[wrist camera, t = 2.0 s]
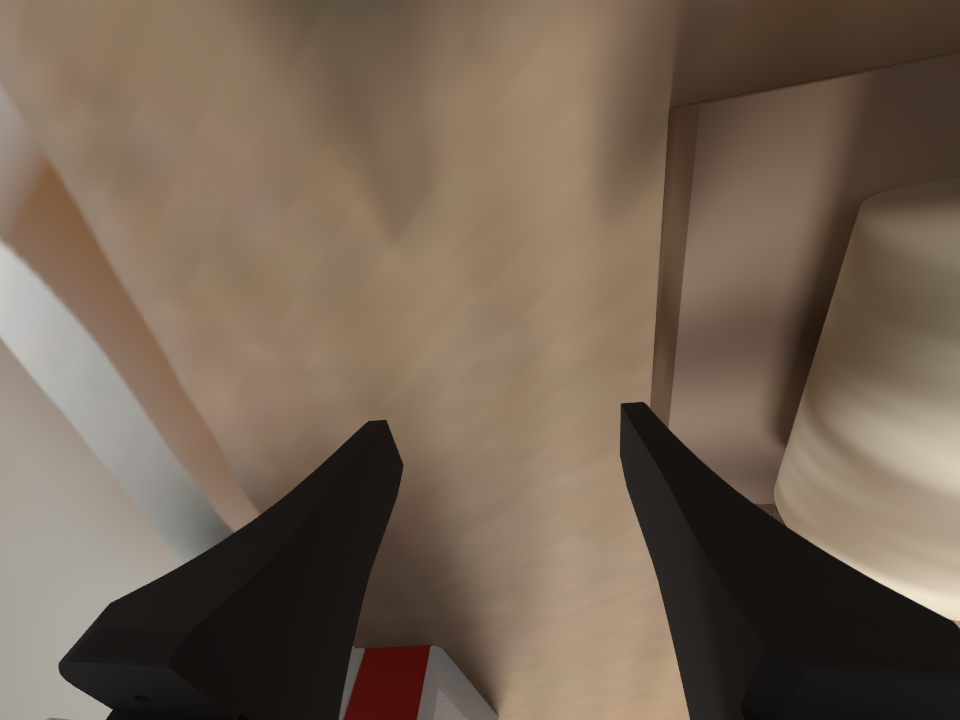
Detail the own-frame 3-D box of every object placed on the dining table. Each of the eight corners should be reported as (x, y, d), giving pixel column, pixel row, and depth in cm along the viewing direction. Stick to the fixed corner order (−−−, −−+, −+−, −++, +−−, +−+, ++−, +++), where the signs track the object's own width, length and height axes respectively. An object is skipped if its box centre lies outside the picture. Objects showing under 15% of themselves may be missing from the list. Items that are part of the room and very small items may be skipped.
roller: (917, 452, 15) (1124, 626, 10) (743, 459, 16) (846, 618, 11) (1073, 161, 10) (1678, 201, 5) (804, 200, 11) (1052, 268, 6)
